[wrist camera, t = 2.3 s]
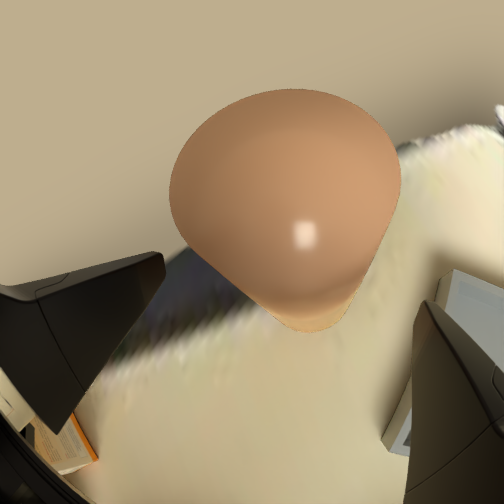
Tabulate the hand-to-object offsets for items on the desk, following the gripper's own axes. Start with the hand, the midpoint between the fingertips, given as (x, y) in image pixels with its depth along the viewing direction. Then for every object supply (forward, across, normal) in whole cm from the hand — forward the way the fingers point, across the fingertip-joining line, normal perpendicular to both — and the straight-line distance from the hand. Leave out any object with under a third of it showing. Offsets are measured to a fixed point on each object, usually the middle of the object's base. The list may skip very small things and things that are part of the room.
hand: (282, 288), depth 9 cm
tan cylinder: (+8, 0, +5) cm, 10 cm away
